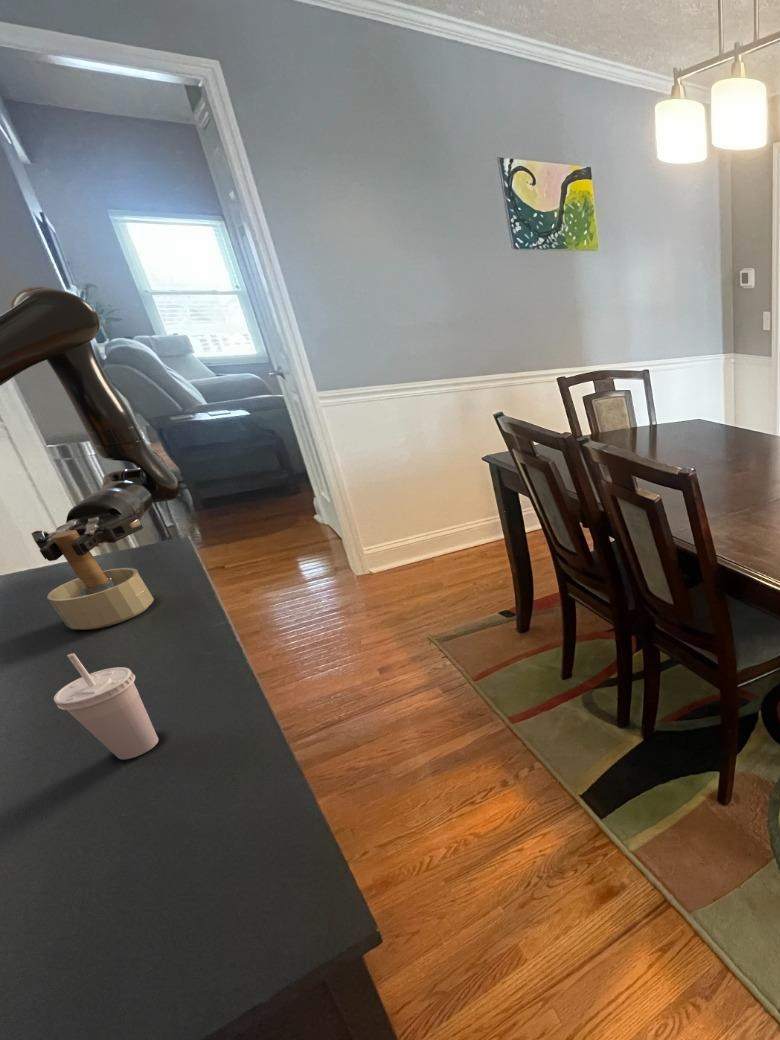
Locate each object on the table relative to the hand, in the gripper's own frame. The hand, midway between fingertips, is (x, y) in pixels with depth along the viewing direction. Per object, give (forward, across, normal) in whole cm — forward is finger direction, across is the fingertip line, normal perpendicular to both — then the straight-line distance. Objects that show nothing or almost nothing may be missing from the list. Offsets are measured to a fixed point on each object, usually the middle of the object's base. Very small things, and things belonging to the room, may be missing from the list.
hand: (63, 552), depth 91 cm
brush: (-3, 0, +12) cm, 12 cm away
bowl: (-3, 0, +13) cm, 13 cm away
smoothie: (+41, +15, +13) cm, 45 cm away
